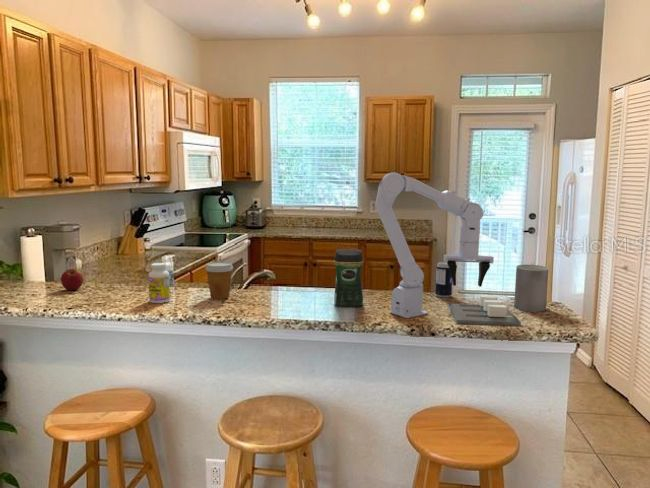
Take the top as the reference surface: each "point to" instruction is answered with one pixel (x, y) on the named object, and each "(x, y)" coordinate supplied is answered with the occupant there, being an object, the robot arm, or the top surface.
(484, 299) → the handle far
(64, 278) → the apple
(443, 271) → the beverage can
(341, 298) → the coffee jar
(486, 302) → the handle middle
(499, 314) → the handle
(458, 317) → the breaker panel
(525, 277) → the pillar candle
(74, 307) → the top surface
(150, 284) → the supplement bottle
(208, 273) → the disposable coffee cup
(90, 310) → the top surface
